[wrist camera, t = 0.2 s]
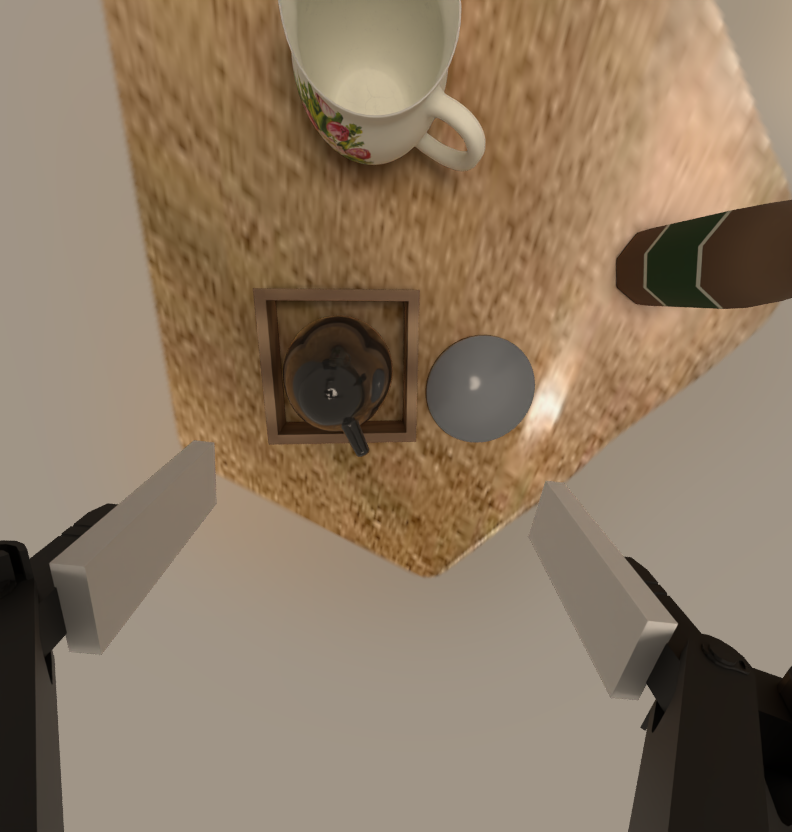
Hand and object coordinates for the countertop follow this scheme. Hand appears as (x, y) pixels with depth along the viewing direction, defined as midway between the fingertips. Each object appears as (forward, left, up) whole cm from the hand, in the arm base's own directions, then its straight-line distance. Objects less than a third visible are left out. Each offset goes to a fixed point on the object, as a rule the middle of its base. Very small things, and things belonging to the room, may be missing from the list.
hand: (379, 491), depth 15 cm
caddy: (0, -3, -27) cm, 28 cm away
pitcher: (-22, +1, -28) cm, 36 cm away
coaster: (+3, +12, -27) cm, 30 cm away
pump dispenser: (0, -3, -28) cm, 28 cm away
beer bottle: (-10, +29, -28) cm, 41 cm away
